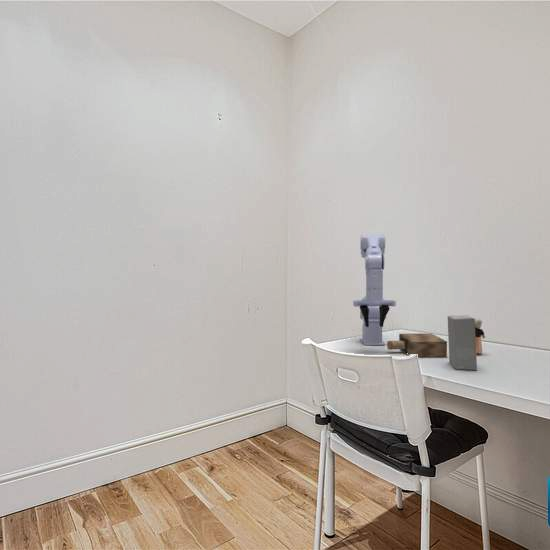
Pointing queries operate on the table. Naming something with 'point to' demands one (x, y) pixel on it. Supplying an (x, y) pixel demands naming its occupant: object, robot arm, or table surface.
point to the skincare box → (462, 342)
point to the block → (424, 345)
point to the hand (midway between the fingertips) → (374, 326)
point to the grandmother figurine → (478, 336)
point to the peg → (395, 345)
